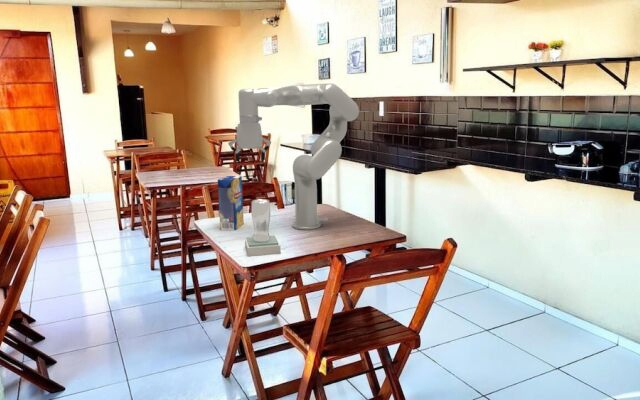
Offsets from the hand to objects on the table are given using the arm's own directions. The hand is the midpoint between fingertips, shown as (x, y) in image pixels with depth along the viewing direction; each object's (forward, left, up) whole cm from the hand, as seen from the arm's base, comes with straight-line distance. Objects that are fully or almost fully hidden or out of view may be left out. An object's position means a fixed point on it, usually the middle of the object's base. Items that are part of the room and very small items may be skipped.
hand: (250, 162), depth 215 cm
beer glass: (-1, +24, -26) cm, 36 cm away
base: (-1, +24, -30) cm, 39 cm away
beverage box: (+8, -14, -31) cm, 34 cm away
